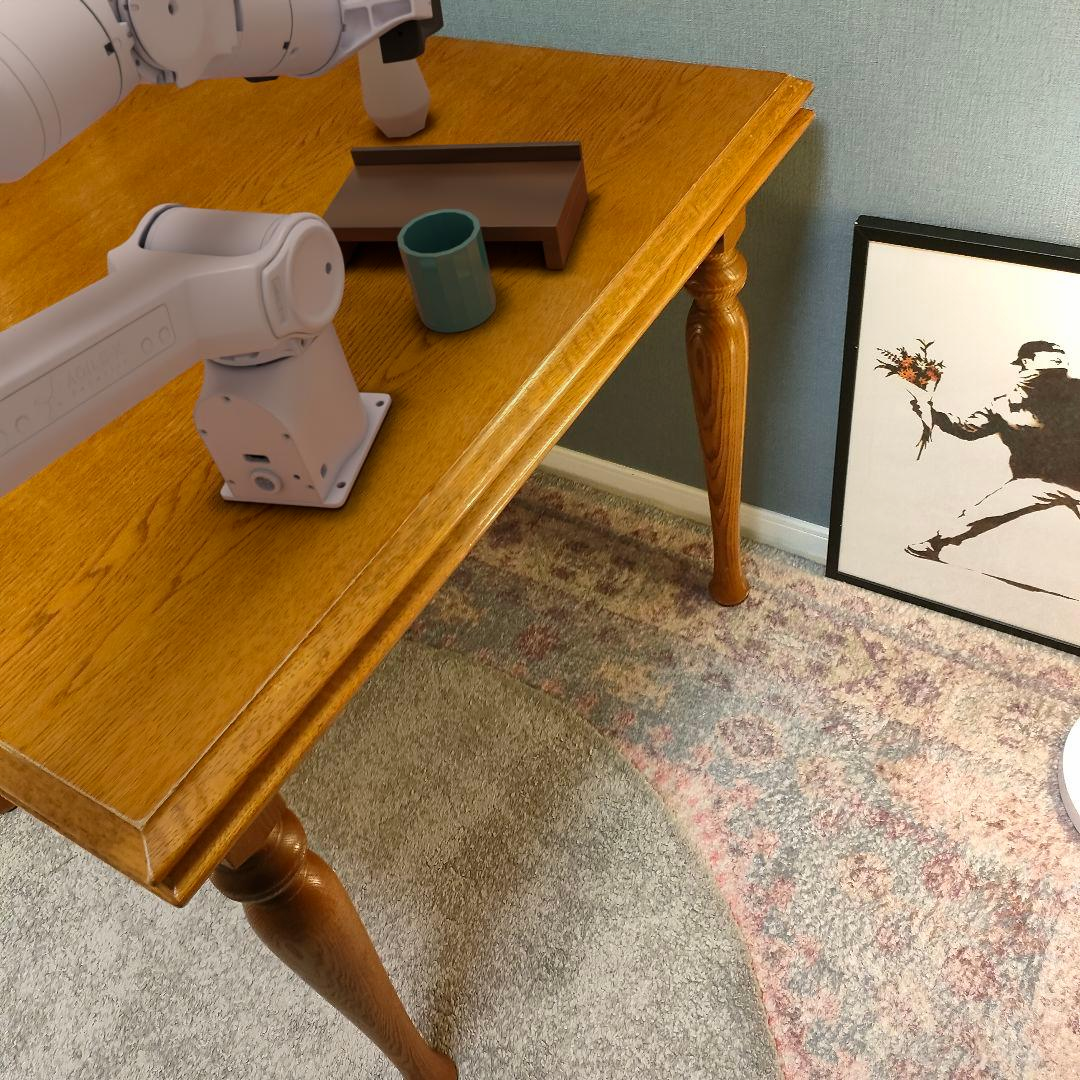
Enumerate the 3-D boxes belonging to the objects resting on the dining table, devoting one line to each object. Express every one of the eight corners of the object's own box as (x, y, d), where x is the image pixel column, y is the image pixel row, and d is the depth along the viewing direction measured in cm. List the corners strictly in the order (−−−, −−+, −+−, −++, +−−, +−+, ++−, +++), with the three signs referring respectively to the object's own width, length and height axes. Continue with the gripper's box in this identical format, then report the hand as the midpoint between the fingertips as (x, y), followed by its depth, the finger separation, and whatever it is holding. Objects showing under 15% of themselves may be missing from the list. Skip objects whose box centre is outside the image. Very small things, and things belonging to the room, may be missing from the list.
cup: (485, 334, 67) (466, 256, 62) (409, 332, 68) (386, 256, 63) (505, 285, 70) (488, 208, 65) (432, 284, 71) (412, 209, 67)
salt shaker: (425, 142, 85) (385, -21, 75) (363, 144, 87) (315, -15, 77) (443, 108, 89) (406, -52, 79) (383, 111, 90) (340, -45, 80)
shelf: (563, 270, 70) (553, 210, 66) (329, 268, 75) (309, 212, 71) (588, 199, 75) (581, 140, 72) (369, 201, 80) (352, 146, 77)
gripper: (352, -108, 45) (478, -79, 57) (110, -54, 51) (268, -37, 62) (380, 63, 48) (494, 58, 60) (148, 97, 54) (293, 86, 65)
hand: (380, 18), depth 61 cm, fingers open, 7 cm apart
